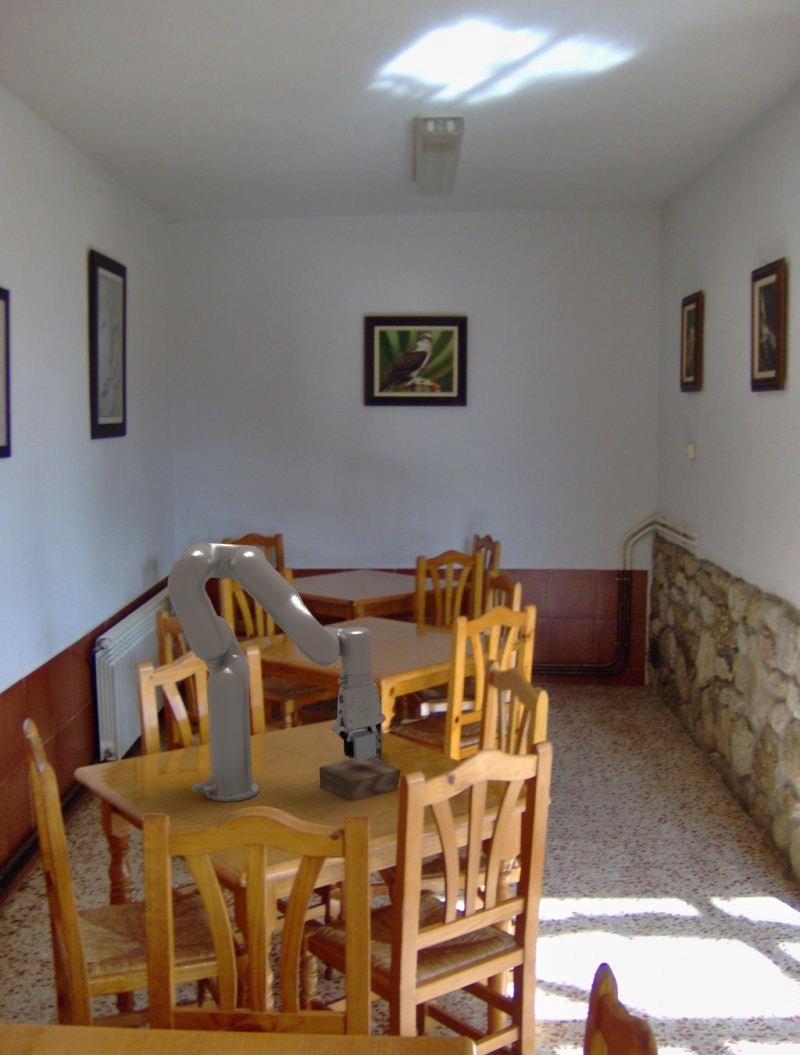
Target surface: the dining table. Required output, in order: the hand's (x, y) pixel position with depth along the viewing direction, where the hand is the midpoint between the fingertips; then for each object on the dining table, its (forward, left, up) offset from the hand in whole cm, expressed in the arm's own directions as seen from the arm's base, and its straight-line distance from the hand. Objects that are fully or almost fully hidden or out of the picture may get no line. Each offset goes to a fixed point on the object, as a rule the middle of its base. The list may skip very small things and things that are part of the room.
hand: (360, 752), depth 256 cm
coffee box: (+14, +16, -9) cm, 23 cm away
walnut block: (0, 0, -9) cm, 9 cm away
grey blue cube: (0, 0, -1) cm, 1 cm away
